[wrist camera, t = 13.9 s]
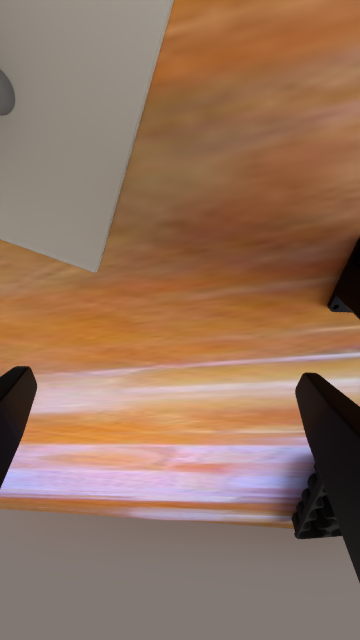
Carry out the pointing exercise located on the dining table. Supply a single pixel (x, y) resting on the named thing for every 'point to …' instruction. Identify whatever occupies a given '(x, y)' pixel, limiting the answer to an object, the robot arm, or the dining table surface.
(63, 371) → the dining table surface
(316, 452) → the robot arm
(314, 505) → the black muffin pan
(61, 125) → the peg plate
